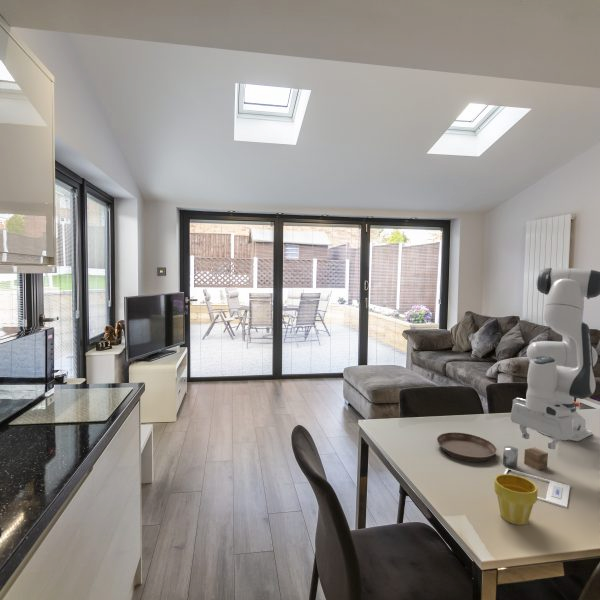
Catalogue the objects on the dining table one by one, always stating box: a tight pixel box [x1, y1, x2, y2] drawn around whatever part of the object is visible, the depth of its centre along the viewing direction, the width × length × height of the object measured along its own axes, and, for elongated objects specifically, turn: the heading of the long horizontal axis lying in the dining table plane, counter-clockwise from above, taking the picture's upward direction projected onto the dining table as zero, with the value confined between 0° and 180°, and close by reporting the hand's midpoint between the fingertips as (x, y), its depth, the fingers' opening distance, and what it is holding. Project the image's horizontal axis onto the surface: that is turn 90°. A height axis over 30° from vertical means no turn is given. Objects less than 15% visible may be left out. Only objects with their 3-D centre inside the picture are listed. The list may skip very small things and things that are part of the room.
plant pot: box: [493, 473, 539, 526], centre depth 109 cm, size 10×10×10 cm
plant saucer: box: [436, 432, 498, 463], centre depth 150 cm, size 21×21×3 cm
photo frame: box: [503, 467, 571, 509], centre depth 126 cm, size 15×1×18 cm
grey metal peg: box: [502, 445, 519, 469], centre depth 140 cm, size 4×4×6 cm
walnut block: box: [523, 446, 549, 470], centre depth 141 cm, size 5×5×5 cm
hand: (538, 443), depth 139 cm, fingers open, 8 cm apart
